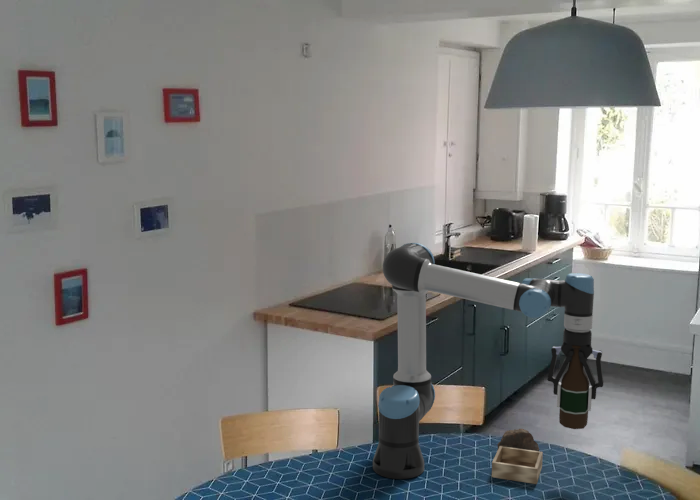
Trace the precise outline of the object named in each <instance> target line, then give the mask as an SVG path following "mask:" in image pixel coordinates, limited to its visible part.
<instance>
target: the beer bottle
mask: <svg viewBox="0 0 700 500" xmlns="http://www.w3.org/2000/svg"><path fill="white" fill-rule="evenodd" d="M572 348H574V354H573V355H572V362H570V361H569V363H568V368H567V371H566V372H565V373H563V375H562V376H563V377H561V380H560V381H561V393H560V407H559V417H558V418H559V421H558V422H559V424H560V425H561V426H563V428H567V429H571V430H580V429H582V430H583V429H585V427H587V425H588V421H589V411H588V396H589V386H590V381H589V379H588V376H587V373H586V371H585V368H584V366H583V364H582V363H580V361H579V354H578V352H579V349H580V348H581V347H580V346H575V345H573V346H572Z"/></svg>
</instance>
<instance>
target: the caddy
mask: <svg viewBox="0 0 700 500" xmlns="http://www.w3.org/2000/svg"><path fill="white" fill-rule="evenodd" d="M497 450H498V451H497ZM497 450H496V454H495V456H494V457H493V460H492V462H491V478H496V479H501V480H508V481H512V482H513V481H515V482H519V483H520V482H522V483H527V484H533V485H537V484H538V482H539V478H540V475H541V471H542V468H543V458H544V457H543V454H544V452H543V451H540V450H538V451H533V450H525V449H518V448H511V447H504V446H499V449H498V448H497Z"/></svg>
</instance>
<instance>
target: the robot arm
mask: <svg viewBox="0 0 700 500" xmlns="http://www.w3.org/2000/svg"><path fill="white" fill-rule="evenodd" d="M382 274H383V276H384V278H385V280H386V281H387V282H388V283H389V284H390V285H391V289H392V291H394V292H395V293H396V294H397V295H396V296H397V297H396V299H397V304H396V305H397V307H396V308H397V371H396V372H395V373H393V378H392V379H393V381H392V382H393V385H392V386H388V387H386V388H385V389H383V390H381V392H380V393H379V397H378V405H377V407H378V444H377V447H376V450H375V452H374V456H373V459H372V470H373V471H374V472H375V473H376V474H377V475H379V476H382V477H383V478H387V479H393V480H406V479H412V478H416V477H418V476H420V475H421V474H423V472H424V471H425V459H424V455H423V453H422V450H421V447H420V444H419V440H420V438H419V434H420V432H419V431H420V429H419V428H420V425H419V424H420V421H422V419H423V418H424V417H425V416H426V415H427V414H428V412H430V410H431V409H432V408H433V405H434V403H435V399H436V390H435V388H434V384H432V375H431V373H430V372H429V371H428V370H427V300H426V299H427V296H426V295H427V293H428V292H433V293H436V294H437V293H438V294H441V295H446V296H451V297H454V298H455V297H456V298H459V299H464V300H469V301H472V302H477V303H481V304H485V305H489V306H495V307H498V308H503V309H507V310H512V311H514V312H515V311H516V312H520V313H522V314H524V316H525V317H528V318H531V319H538V318H541V317H543V316H544V315H545V314H547V313H548V312H549V310H550V308H551V307H555V308H564V316H563V327H564V329H563V333H562V334H563V337H562V338H563V339H562V340H563V341H562V345H560V346H555V345H553V346H552V347H551V350H550V351H551V359H550V360H551V361H550V364H549V365H550V366H549V369H548V374H547V382H551V383H552V384H553V390H552V391H553V395H554V396H555V395H556V408H560V393H561V382H560V381H561V379H562V376H563V375H564V374H565V373H564V372H565V370H566V369H567V366H569V361H570V362H572V355H573V354H574V348H572V346H573V345H575V346H580V347H581V348H580V349H579V352H578V354H579V361H580V363H582V364H583V368H584V372H585V374H586V375H587V377H588V380H589V396H588V412H591V411H592V401H593V400H596V397H597V388H602V387H604V376H603V368H602V365H603V364H602V356H603V351H602V349H601V350H596V349H593V347H592V336H593V335H592V333H593V332H592V328H593V316H594V314H593V313H594V298H595V297H594V296H595V290H594V289H595V281H594V280H595V278H594V277H593V276H592V275H590V274H588V273H583V272H582V273H581V272H579V273H578V272H577V273H576V272H575V273H574V272H572V273H568V274H567V275H566V276H565V279H562V280H561V279H560V280H558V279H548V278H546V279H545V278H538V277H534V278H529V277H526V278H524V279H523V280H522V282H521V283H520V282H518V281H517V282H516V281H513V280H508V279H503V278H497V277H493V276H491V275H485V274H480V273H475V272H472V271H471V272H470V271H468V270H467V271H466V270H462V269H458V268H452V267H448V266H443V265H439V264H435V257H434V254H433V253H432V251H431V250H430V249H429V248H428V247H427V246H426V245H425V244H422V243H419V242H409V243H408V242H407V243H405V244H403V245H401V246H399V247H396V248H394V249H392V250H390V251H389V252H388V253H387V254H386V255H385V257H384V259H383V262H382ZM560 352H562V353H563V355H564V356H565V358H564V360H563V362H562V365H561V366H560V368H559V370H558V372H557V374H556V375H555V376H554V372H555V367H556V363H557V359H558V355H560ZM591 355H593V358H594V359H595V367H596V374H597V380H596V378H595V375H594V373H593V371H592V368H591V365H590V361H589V359H588V358H589V357H590V356H591Z"/></svg>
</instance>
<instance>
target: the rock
mask: <svg viewBox="0 0 700 500" xmlns="http://www.w3.org/2000/svg"><path fill="white" fill-rule="evenodd" d="M534 439H535V438H534V436H533V434H532V433H531V432H530V431H529V430H526V429H524V428H518V429H517V428H515V429H510V430H506V431H505V432H503V434H502V437H501V439H500V441H499V442H498V443H497V450H496V452H497V451H498V449H499V446H504V447H511V448H518V449H525V450H533V451H540V446H539V443H538V442H537V441H535V440H534Z"/></svg>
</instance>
